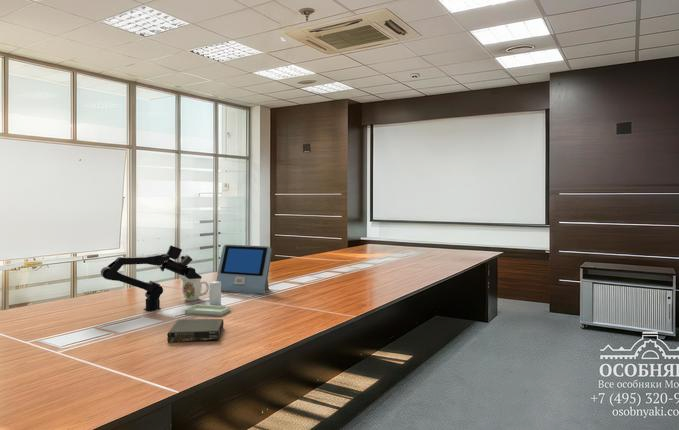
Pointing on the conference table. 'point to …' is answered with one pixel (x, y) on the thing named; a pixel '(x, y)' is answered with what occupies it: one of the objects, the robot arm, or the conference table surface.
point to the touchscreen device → (244, 268)
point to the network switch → (195, 330)
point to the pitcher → (192, 288)
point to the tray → (207, 310)
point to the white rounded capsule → (215, 293)
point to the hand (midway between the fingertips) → (198, 276)
